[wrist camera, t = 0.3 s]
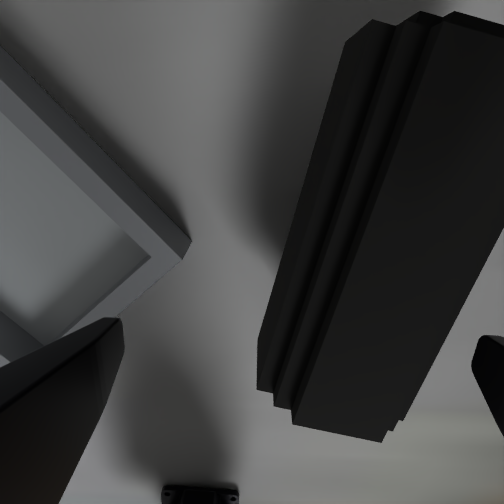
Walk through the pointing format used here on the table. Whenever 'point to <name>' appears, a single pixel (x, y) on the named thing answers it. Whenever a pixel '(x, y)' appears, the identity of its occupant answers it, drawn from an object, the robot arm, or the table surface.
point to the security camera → (388, 223)
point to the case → (67, 224)
